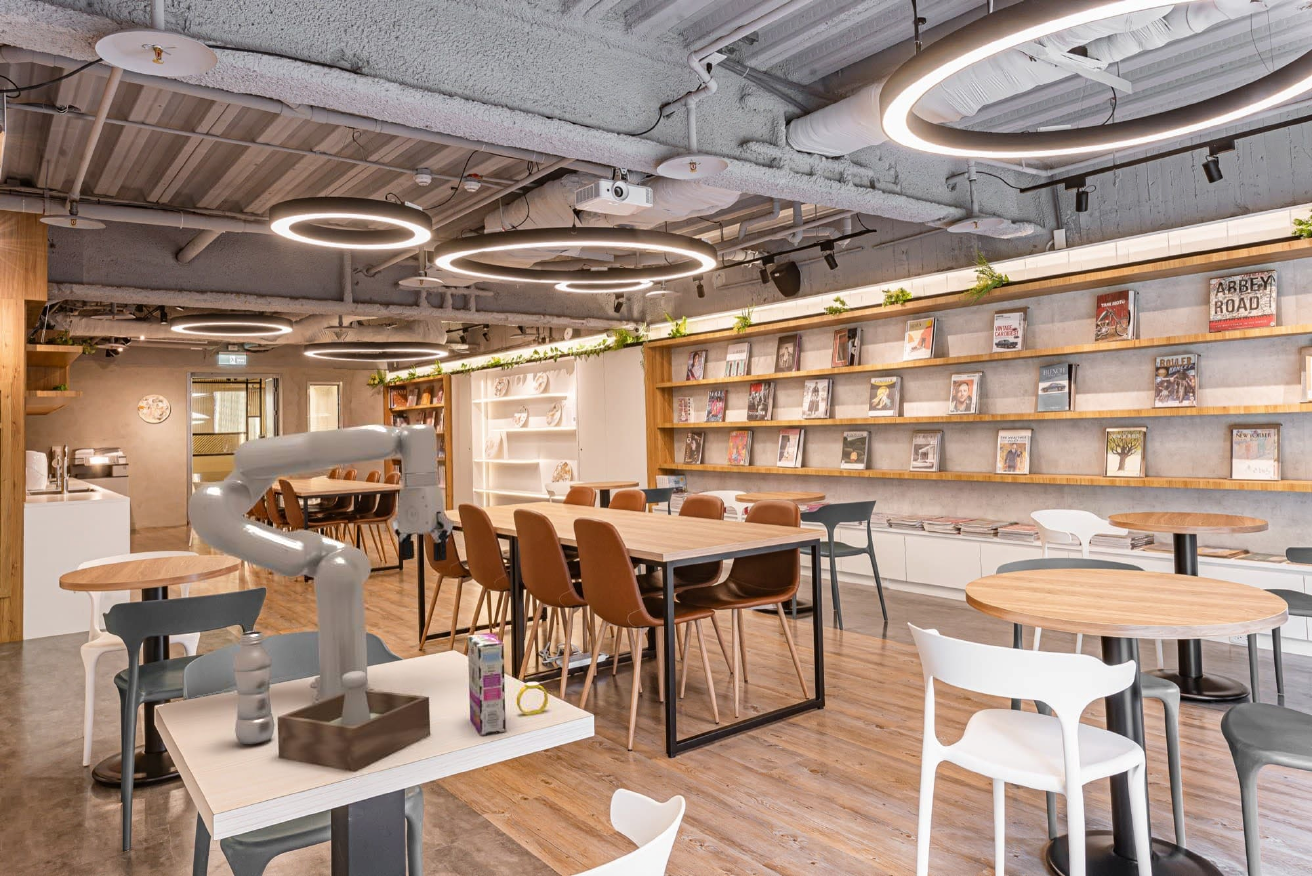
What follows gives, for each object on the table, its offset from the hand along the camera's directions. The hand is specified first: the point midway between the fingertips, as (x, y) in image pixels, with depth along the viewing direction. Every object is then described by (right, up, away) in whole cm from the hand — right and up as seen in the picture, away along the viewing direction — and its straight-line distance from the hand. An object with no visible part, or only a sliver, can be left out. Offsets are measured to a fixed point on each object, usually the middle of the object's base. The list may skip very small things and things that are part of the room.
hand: (423, 559), depth 179 cm
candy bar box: (+19, -28, -23) cm, 41 cm away
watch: (+26, -28, -17) cm, 42 cm away
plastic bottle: (-23, -30, -27) cm, 47 cm away
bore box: (-3, -29, -32) cm, 43 cm away
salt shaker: (-3, -29, -31) cm, 43 cm away
